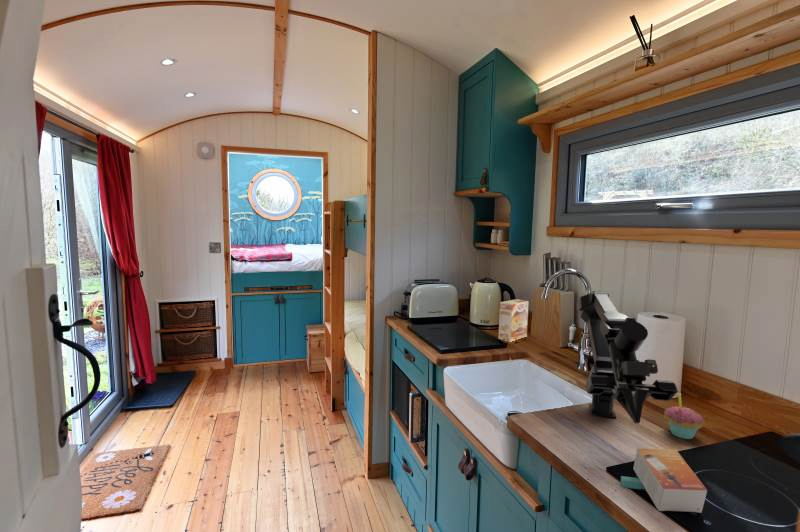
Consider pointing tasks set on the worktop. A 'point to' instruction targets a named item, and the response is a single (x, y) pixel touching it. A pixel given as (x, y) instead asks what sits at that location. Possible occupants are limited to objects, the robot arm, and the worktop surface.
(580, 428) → the worktop surface
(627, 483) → the teal batten
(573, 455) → the worktop surface
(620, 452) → the worktop surface
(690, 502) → the small box
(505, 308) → the coffeecake box
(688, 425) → the cupcake
